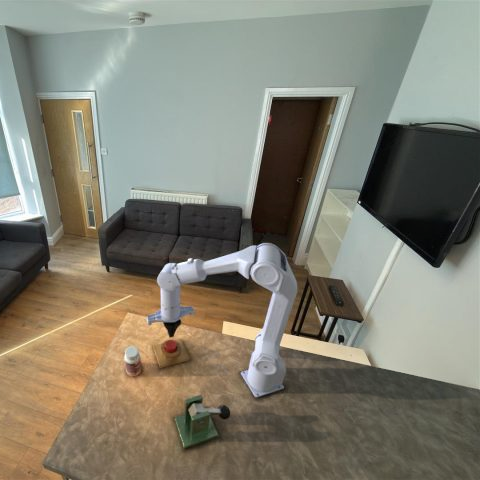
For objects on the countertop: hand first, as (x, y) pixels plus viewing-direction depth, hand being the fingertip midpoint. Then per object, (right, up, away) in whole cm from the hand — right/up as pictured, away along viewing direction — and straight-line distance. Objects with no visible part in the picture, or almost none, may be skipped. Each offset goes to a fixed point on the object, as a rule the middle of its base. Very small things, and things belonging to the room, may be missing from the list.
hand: (170, 334), depth 83 cm
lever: (+9, -14, -17) cm, 24 cm away
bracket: (+6, -18, -16) cm, 25 cm away
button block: (0, -8, +4) cm, 9 cm away
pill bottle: (-12, -11, -1) cm, 16 cm away
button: (0, -6, +3) cm, 6 cm away
